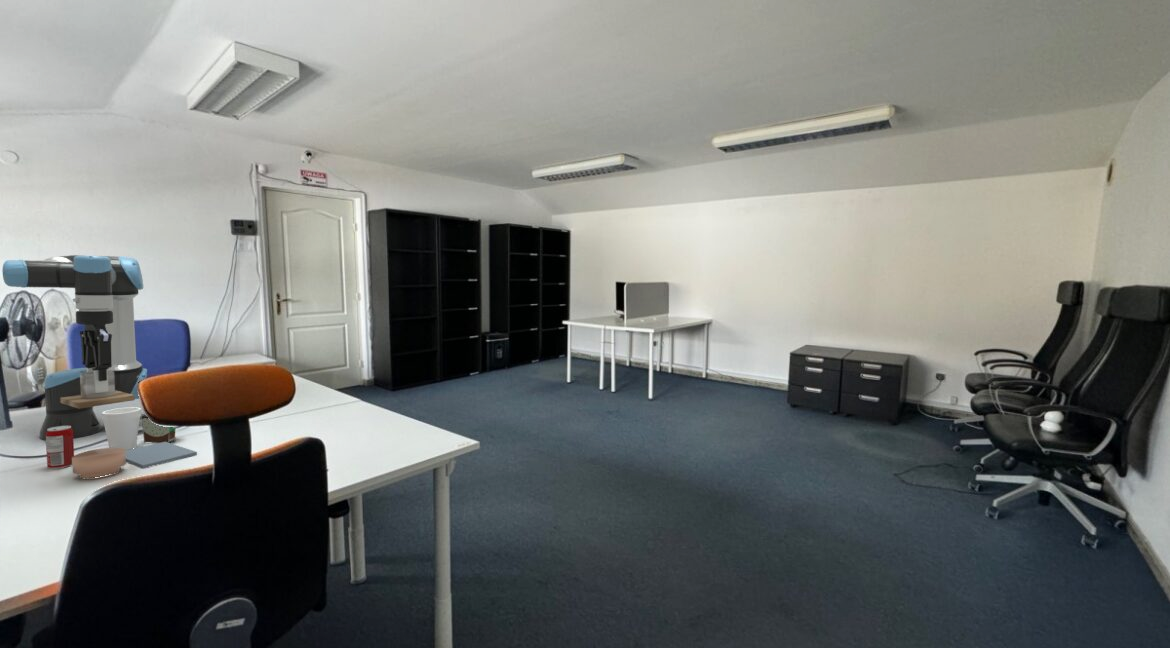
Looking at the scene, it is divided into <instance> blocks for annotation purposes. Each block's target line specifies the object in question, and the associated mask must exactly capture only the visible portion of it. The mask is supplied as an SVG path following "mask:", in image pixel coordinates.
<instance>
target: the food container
mask: <svg viewBox="0 0 1170 648" xmlns="http://www.w3.org/2000/svg"><path fill="white" fill-rule="evenodd" d="M145 413H146V412H143V413H141V416H140V421H141V427H142V429H141V430H142V436H143V443H145V442H152V443H151V444H157V443H161V442H168V443H171V444H174V443H175V441H176V430H177V429H176V428H173V427H163V426H159V425H156V424H154V423H152V422H151V421H150V420H149V419H148V417H147V416H146V415H145Z"/></svg>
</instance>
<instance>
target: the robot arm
mask: <svg viewBox="0 0 1170 648" xmlns="http://www.w3.org/2000/svg"><path fill="white" fill-rule="evenodd" d="M1 272H2V278H3V283H4V284H5V285H6V286H7V287H15V288H53V289H54V288H60V289H63V288H64V289H74V297H75V298H73V299H72V301H73V302H74V303H75V309H77V310H76V311H75V323H76V324H77V325H83V326H84V330H80V331H79V335H80V342H81V343H80V344H81V345H80V347H81V358H82V359H81V360H82V361H81V363H82V365H83V366H84V367H78V368H71V369H70V368H69V369H64V370H60V371H55V372H52V373H50V374H48V375H47V376H45V377H44V387H43V389H44V394H45V395H44V399H45V418H44V420H43V423H42V425H41V428H40V430H39V439H41V440H45V441H46V432H47V429H49V428H52V427H58V426H71V428H72V430H73V439H75V438H79V437H80V438H81V437H86V436H90V435H93V434H96V433H99V432H100V431H101V430H102V429H101V422H100V421H99V419H98V417H97V415H96V413H95V411H94V406H93V407H87V408H80V409H78V408H75V407H72V406H69V405H66V404H63V403H61V402H60V398H61V397H68V396H76V395H81V387H80V373H86V372H94V385H95V393H100V392H107V391H109V390H108V370H109V371H113V372H114V381H115V390H117V391H121V392H125V393H128V394H132V395H135V400H139V399H140V398H139V396H138V392H137V385H138V382H139V381H141V380H143V379H146V380H147V376H148V369H147V368H144V367H143V363H141V362H140V361H138V360H137V352H136V351H137V348H136V347H137V346H136V333H135V332H136V329H135V310H134V299H135V298H136V297H137V296H138V295H139V290H140V291H141V290H143V289H144V282H143V279H144V278H143V275H142V270H141V267H140V264H139V262H138V261H137V259H135V258H133V257H127V256H126V257H125V256H115V255H114V256H110V255H104V256H103V255H85V254H72V255H62V256H61V255H60V256H54V257H53V256H52V257H48V258H45V259H44V260H24V259H17V260H16V259H8V260H5V261H4V262H3V265H2V271H1Z"/></svg>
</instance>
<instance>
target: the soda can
mask: <svg viewBox="0 0 1170 648" xmlns="http://www.w3.org/2000/svg"><path fill="white" fill-rule="evenodd" d="M74 443H75V442H74V438H73V430H72V428H71V426H58V427H52V428H49V429H47V432H46V440H45V446H46V447H45V448H46V464H47V465H46V467H47V468H48V469H51V470H58V469H57V468H60V469H64V468H63V467H65V468H68V467H71V466H72V457H73V456H75V449H74V447H75V446H74ZM70 465H71V466H70ZM67 466H68V467H67Z"/></svg>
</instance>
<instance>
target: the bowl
mask: <svg viewBox="0 0 1170 648" xmlns="http://www.w3.org/2000/svg"><path fill="white" fill-rule="evenodd" d="M126 464H127V462H126V454H125V449H124V448H109V447H106V448H105V447H104V448H96V449H92V450H87V451H83V452H80V453H77V454H74V456H73V457H72V465H71V467H72V474H74V475H80V477H81V478H85V479H84V480H88V479H87V478H95V477H100V476H105V475H109V474H113V475H115V474H114V473H116V474H118V473H119V472H120V468H121V467H123V466H125V465H126ZM117 472H118V473H117ZM81 478H80V479H81Z"/></svg>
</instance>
